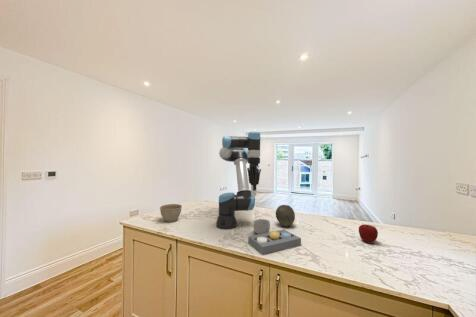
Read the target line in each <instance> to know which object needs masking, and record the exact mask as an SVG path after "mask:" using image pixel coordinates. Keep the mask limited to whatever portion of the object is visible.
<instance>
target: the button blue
mask: <svg viewBox="0 0 476 317" xmlns="http://www.w3.org/2000/svg"><path fill="white" fill-rule="evenodd" d="M289 232H290V231H288V232H282V233H281V236H283V237H284V238H288V237H291V233H292V232H290V233H289Z"/></svg>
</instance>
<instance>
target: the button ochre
mask: <svg viewBox="0 0 476 317" xmlns="http://www.w3.org/2000/svg"><path fill="white" fill-rule="evenodd" d="M277 231H278V230H271V231H270V230H269V232H270V239H271V240H273V241H274V240H279V232H277Z"/></svg>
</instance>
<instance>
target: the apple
mask: <svg viewBox="0 0 476 317" xmlns="http://www.w3.org/2000/svg"><path fill="white" fill-rule="evenodd" d="M358 234H359V237H360V239H361V240H362V241H363V242H365V243H367V244H372V243H374V242H376V241H377V238H378V236H379V232H378V229H377V228H376V227H375V226H373V225H370V224H361V225H359V226H358Z"/></svg>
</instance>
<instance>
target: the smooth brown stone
mask: <svg viewBox="0 0 476 317" xmlns="http://www.w3.org/2000/svg"><path fill="white" fill-rule="evenodd" d="M275 218H276V220H277V221H278V223H279V224H280V225H282V226H283V227H290V226H292V225H293V224H294V222H295V220H296V219H295V218H296V214H295V211H294V209H293V207H292V206H290V205H288V204H287V205H286V204H281V205H279V206H278V207H277V208H276V210H275Z"/></svg>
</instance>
